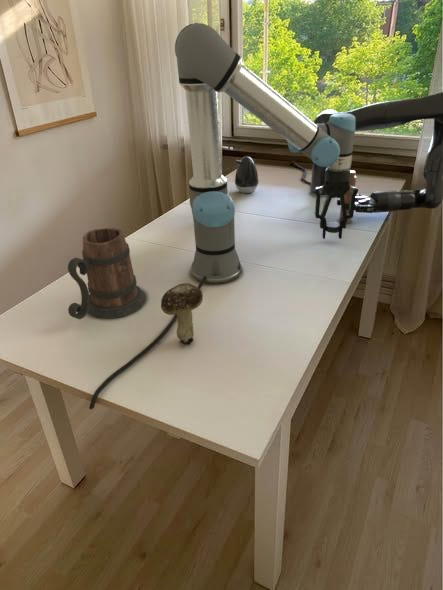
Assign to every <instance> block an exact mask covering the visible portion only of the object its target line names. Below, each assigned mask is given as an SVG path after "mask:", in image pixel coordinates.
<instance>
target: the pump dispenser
mask: <svg viewBox="0 0 443 590" xmlns="http://www.w3.org/2000/svg"><path fill="white" fill-rule="evenodd" d="M234 162H235V163H236V164H237V168H236V170H235V177H234V185H235V187H236V190H237V191H239V192H240V193H242V194H251V193H253V192H255V191H256V190H257V188H258V185H259V175H258V169H257V167H256V164H255V162H254V160H253V158H252V157H251V156H249V155H246V156H245V155H244V156H243V157H242V158H241V159H240V160H238V159H235V160H234Z"/></svg>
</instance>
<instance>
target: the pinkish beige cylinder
mask: <svg viewBox="0 0 443 590" xmlns="http://www.w3.org/2000/svg"><path fill="white" fill-rule="evenodd" d="M350 170H351V169H350ZM356 174H357V173H356V170H351V171H350V181H349V183H350V186H353V187H355V186H356V182H357V176H356ZM350 196H351V193H350V189H349V190H348V191H347V193H346V194H345V195H344V199H345V204H348V203H350ZM339 210H340V211H339V220H338V221H339V222H338V223H340V217H343V215H342V210H341V209H339ZM346 213H347V214H348V213H349V210H346ZM351 221H352V218H349V219H348V220H347V223H346V224H350V223H351Z"/></svg>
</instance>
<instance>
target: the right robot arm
mask: <svg viewBox="0 0 443 590" xmlns="http://www.w3.org/2000/svg"><path fill="white" fill-rule="evenodd" d="M340 113H345V114H351V115H353V116H354V117H355V123H356V124H355V132H364V131H365V132H366V131H375V130H376V131H377V130H384V129H392V128H396V127H399V126H402V125H405V124H408V123H411V122H416V121H418V120H419V121H420V120H421V121H422V120H433V128H432V129H433V130H432V136H431V139H430V144H429V146H428V150H427V153H426V158H425V160H424V161H425V162H424V167H423V172H422V179H423V181H424V182H425V188H416V189H412V190H408V189H407V190H406V189H405V190H382V191H381V190H380V191H372V192H371V193H370V195H369V196H366V195H362V193H357V195H356V198H355V206H354V212H355V213H361V214H379V213H390V212H396V211H406V210H412V209H418V208H419V209H428V210H429V209H430V210H432V209H437V208H438V207H439V206H440V205H441V204H442V202H443V91H441V92H437V93H433V94H430V95H426V96H425V95H424V96H421V97H416V98H407V99H397V100H388V101H381V102H376V103H371V104H368V105H365V106H362V107H359V108H356V109H353V110H350V111H345V112H344V111H343V112H338V111H336V110H334V109H325V110H323V111H322V112H321V113H319V114H318V115H317V116H316V117H315V118H314V120H313V123H314V124H323V123H329V119H330V116H331V115H333V114H340ZM290 165H294V166H296V167H297V168H298V169H300V170H302V171H304V173H303V174H302V176H301V180H302V182H304V183H305V184H308V185H309V186H310V190H309V194H310V195H311V196H312V197H313V196H314V197H316V193H315V187H321V186H323V184H324V182H325V171H326V168H327V167H321V166H318V165H316V164H315V163H314V162H313V161H312V166H311V179H310V181H308V180H306V179H305V178H306V175H307V169H306V168H304V167H303V166H301V165H299V164H298V163H297V162H295V164H293V163H291V162H290ZM326 196H327V194H326V192H325V191H324V190H322V194H320V198H326ZM336 205H337V206H338V207H341V202H340V198H337V200H336ZM349 205H350V203H348V204H345V207H346V210H349ZM340 210H342V209H341V208H340Z"/></svg>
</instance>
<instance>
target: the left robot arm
mask: <svg viewBox="0 0 443 590" xmlns="http://www.w3.org/2000/svg"><path fill="white" fill-rule="evenodd" d="M174 55H175V57H176V63H177V64H176V67H177V74H178V84H179V85H180V86H181V87H182V88H183V89H184V90H185V100H186V110H187V121H188V122H187V123H188V133H189V144H190V153H191V155H190V156H191V165H192V166H191V167H192V177H191V178H190V179H189V181H188V187H189V205H190V209H191V214H192V215H191V216H192V221H193V229H194V230H193V232H194V243H195V244H194V245H195V252H194V256H193V260H192V263H191V266H190V270H191V276H192V277H193V279H194V280H195V281H198V282H199V283H198V286H197V287H198V288H199V289H200V290H201V289H202V287H203V285H204V284H207V285H223V284H227V283H230V282H233V281H235V280H237V279H238V278H240V276H241V274H242V263H241V260H240V258H239V255H238V252H237V250H236V233H235V230H236V229H235V213H236V207H235V203H234V200H233V198H232V197H231V196H230V195H229V192H228V191H229V189H228V179H227V177H225V175H224V174H223V173H222V171H223V170H222V155H221V154H222V153H221V137H220V136H221V135H220V119H219V102H218V93H225V94H226V95H227V96H229V97H230V98H231V99H232V100H234V101H235V102H236V103H238V104H239V105H240V106H242V107H243V108H244V109H246V110H247V111H248V112H249V113H251V114H252V115H253V116H255V117H256V118H257V119H258V120H260V121H261V122H262V123H264V124H265V125H267V127H269V128H270V129H271V130H272V131H274V132H275V133H277V135H279V136H280V137H282V138H283V139H284V140H286V142H287V147H288V150H289V151H290V153H298V154H300V153H301V154H303V155H304V156H306V157H307V158H308V159H310V160H311V162H312V163H313V162H314V163H315V164H316V165H318V166H321V167H327V168H326V171H325V182H324V184H323V186H321V187H315V193H316V196H315V205H314V207H315V208H314V217H315V219H318V220H319V228H320V230H322V233H321V236H322V240H325V239H326V236H327V235H326V234H327V231H326V223H328V221H327V217H326V216H327V213H328V210H329V208H330V204H331V202H332V200H333V199H335V198H337V199H340V202H341V206H340V210H341V209H342V215H343V217H340V216H339V219H340V222H339V224H340V231H339V232H338V239H339V240H342V239H343V230H345V229H346V228H347V224H348V223H347V220H348V219H349V218H351V219H353V218H354V212H355V211H354V206H355V198H356V195H357V194H359V189H358V187H357V186H356V185H355V187H353V186H350V183H349V181H350V171H351V167H352V161H353V150H354V142H355V134H356V131H355V124H356V123H355V117H354V116H353V115H351V114H345V113H342V112H339V113H340V114H333V115H331V116H330V119H329V123H323V124H314V121H312V120H311V118H308V117H307V116H306V115H305V114H304V113H303V112H301V111H300V110H299V109H297V107H296V106H294V105H293V104H292V103H290V102H289V101H288V100H287V99H286V98H284V96H282V95H281V94H280V93H278V91H276V90H275V89H274V88H272V87H271V86H270V85H269V84H267V83H266V82H265V81H264V80H263V79H262V78H261V77H259V76H258V74H257V75H256V73H254V72H253V71H252V70H250V69H249V67H248V66H246V65H245V64H244V63H243V59H242V56H241V55H240V54H239V53H237V51H236V50H234V49H233V48H232V47H231V46H230V45H229V44H228V43H227V42H226V40H225V39H224V38H223V37H222V36H221V35H220V34H219V32H218V31H217V30H215V28H213V27H212V26H210V25H207V24H206V23H203V22H201V23H199V22H194V23H189V24H188V25H185V27H183V28H181V30H180V31H179V32H178V34H177V36H176V39H175V42H174ZM349 189H350V193H351V196H350V205H349V213H348V214H347V213H346V207H345V199H344V195H345V194H346V193H347V191H348V190H349ZM322 190H324V191H325V192H326V194H327V196H326V197H325V201H324V203H323V207H322V210H321V197H320V194H322ZM320 210H321V212H320ZM176 321H178V318H177V314H174V316H173V318H172V319H171V320H170V321H169V323H168V324H167V326H166V327H165V328H164V329H163V330H162V332H160V334H159V335H158V336H157V337H155V338H154V340H153V341H152V342H151V343H149V344H148V345H147V346H146V347H145V348H144V349H143V350H142V351H140V352H139V353H138V354H136V355H135V356H134V357H133V358H132V359H130V360H129V361H128V362H127V363H125V364H124V365H123V366H121V367H119V368H118V369H117V370H116V371H114V372H112V373H111V375H109V376H108V377H107V378H106V379H105V380H104V381H103V382H102V383H101V384H100V385H99V386H98V387H97V388H96V390H95V391H94V393H93V395H92V397H91V399H90V403H89V407H88V409H89V410H93V409H94V408H95V405H96V402H97V399H98V397H99V395H100V393H101V392H102V391H103V390H104V389H105V388H106V387H107V386H108V384H110V382H111V381H113V380H114V379H115V378H116V377H117V376H118V375H120V374H121V373H122V372H124V371H125V370H127V369H128V368H129V367H131V366H132V365H133V364H135V363H136V362H137V361H138V360H139V359H140V358H142V357H143V356H144V355H145V354H147V353H148V352H149V351H150V350H151V349H152V348H153V347H155V346H156V345H157V344H158V342H159V341H161V339H163V337H165V335H166V334H167V333H168V332H169V330H170V329H171V328H172V327H173V325H174V324H175V323H176Z"/></svg>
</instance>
